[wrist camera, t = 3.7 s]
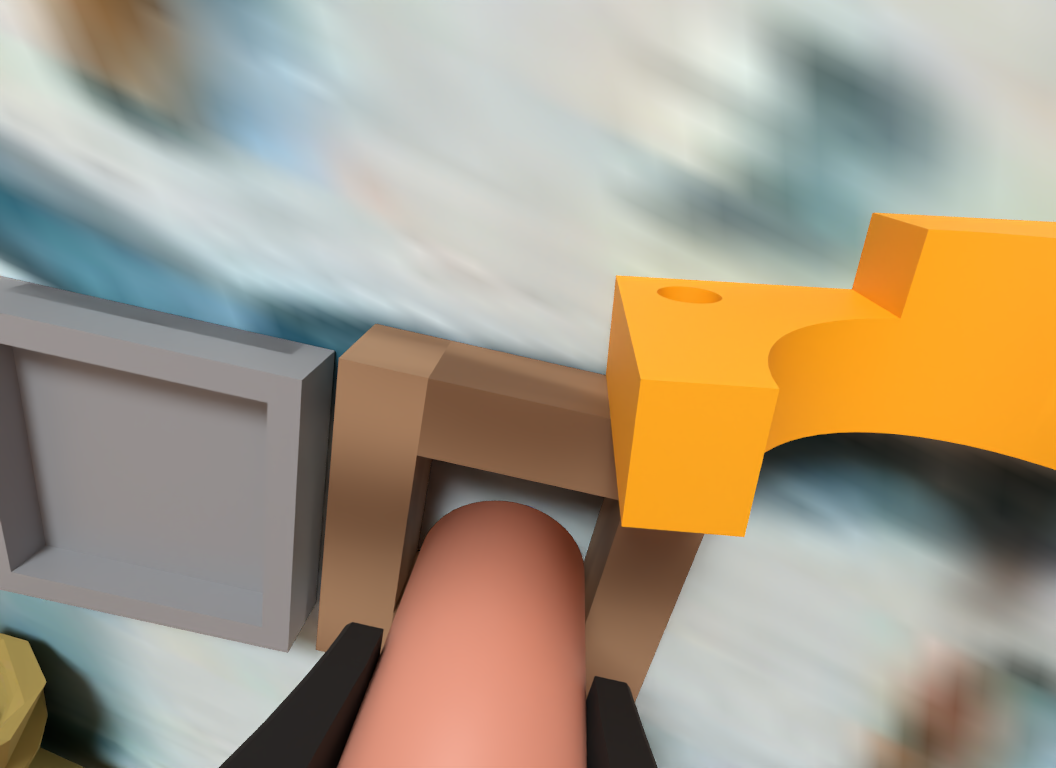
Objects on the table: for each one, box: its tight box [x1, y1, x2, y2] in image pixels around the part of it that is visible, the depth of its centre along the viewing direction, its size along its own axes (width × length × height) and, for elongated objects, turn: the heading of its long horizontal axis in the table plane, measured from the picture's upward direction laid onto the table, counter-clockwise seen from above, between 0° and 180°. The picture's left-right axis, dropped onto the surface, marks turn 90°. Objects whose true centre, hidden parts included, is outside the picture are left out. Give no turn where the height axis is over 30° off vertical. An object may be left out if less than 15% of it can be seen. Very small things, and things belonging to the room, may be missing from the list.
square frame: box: [316, 324, 704, 702], centre depth 16 cm, size 9×9×2 cm
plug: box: [337, 501, 587, 768], centre depth 11 cm, size 4×4×7 cm
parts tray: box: [0, 276, 335, 653], centre depth 16 cm, size 9×9×2 cm
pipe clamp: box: [606, 213, 1056, 537], centre depth 11 cm, size 12×4×6 cm, turn 88°
